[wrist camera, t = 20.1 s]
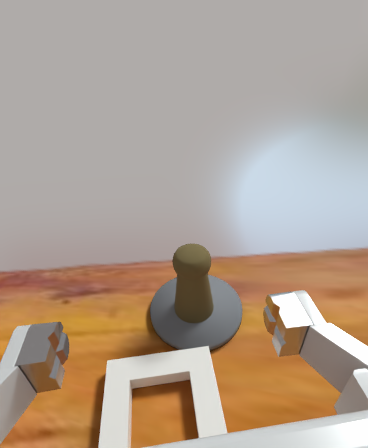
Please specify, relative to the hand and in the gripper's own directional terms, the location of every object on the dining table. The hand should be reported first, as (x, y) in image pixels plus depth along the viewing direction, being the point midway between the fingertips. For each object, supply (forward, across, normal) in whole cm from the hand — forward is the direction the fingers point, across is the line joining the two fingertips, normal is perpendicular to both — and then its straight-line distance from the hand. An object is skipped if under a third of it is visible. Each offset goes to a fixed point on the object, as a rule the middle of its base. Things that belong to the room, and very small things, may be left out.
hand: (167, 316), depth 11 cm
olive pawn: (+21, -4, +26) cm, 34 cm away
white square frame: (+7, +2, +27) cm, 28 cm away
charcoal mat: (+21, -4, +27) cm, 34 cm away
